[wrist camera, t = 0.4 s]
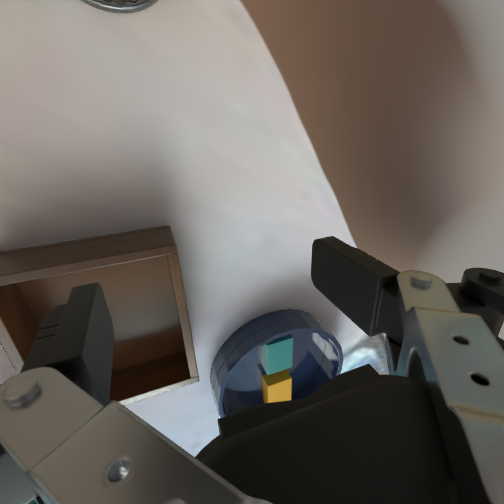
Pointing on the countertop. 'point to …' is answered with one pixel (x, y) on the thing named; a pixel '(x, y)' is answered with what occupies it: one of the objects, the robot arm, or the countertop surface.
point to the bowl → (250, 360)
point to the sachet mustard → (277, 386)
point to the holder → (118, 301)
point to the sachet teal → (277, 354)
